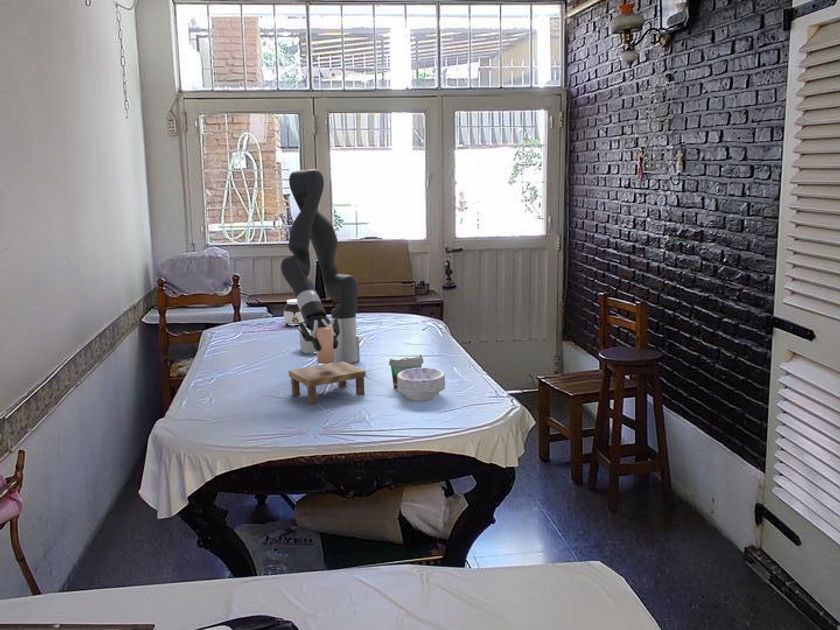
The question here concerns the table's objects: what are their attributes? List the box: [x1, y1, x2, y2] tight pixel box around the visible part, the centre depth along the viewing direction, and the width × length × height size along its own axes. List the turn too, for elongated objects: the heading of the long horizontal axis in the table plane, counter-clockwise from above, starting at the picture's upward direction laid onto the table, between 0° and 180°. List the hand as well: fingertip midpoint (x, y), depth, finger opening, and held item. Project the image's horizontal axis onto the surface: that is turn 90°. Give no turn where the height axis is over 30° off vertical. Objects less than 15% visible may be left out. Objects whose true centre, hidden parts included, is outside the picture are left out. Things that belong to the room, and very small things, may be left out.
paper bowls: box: [397, 367, 446, 402], centre depth 259 cm, size 15×15×8 cm
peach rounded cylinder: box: [316, 326, 335, 365], centre depth 262 cm, size 5×5×11 cm
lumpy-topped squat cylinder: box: [299, 327, 317, 354], centre depth 328 cm, size 10×13×9 cm
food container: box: [388, 354, 425, 390], centre depth 270 cm, size 12×6×10 cm, turn 117°
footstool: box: [288, 361, 367, 406], centre depth 264 cm, size 20×16×8 cm
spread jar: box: [283, 298, 305, 325], centre depth 382 cm, size 12×11×12 cm
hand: (327, 348), depth 261 cm, fingers closed on peach rounded cylinder, 5 cm apart
